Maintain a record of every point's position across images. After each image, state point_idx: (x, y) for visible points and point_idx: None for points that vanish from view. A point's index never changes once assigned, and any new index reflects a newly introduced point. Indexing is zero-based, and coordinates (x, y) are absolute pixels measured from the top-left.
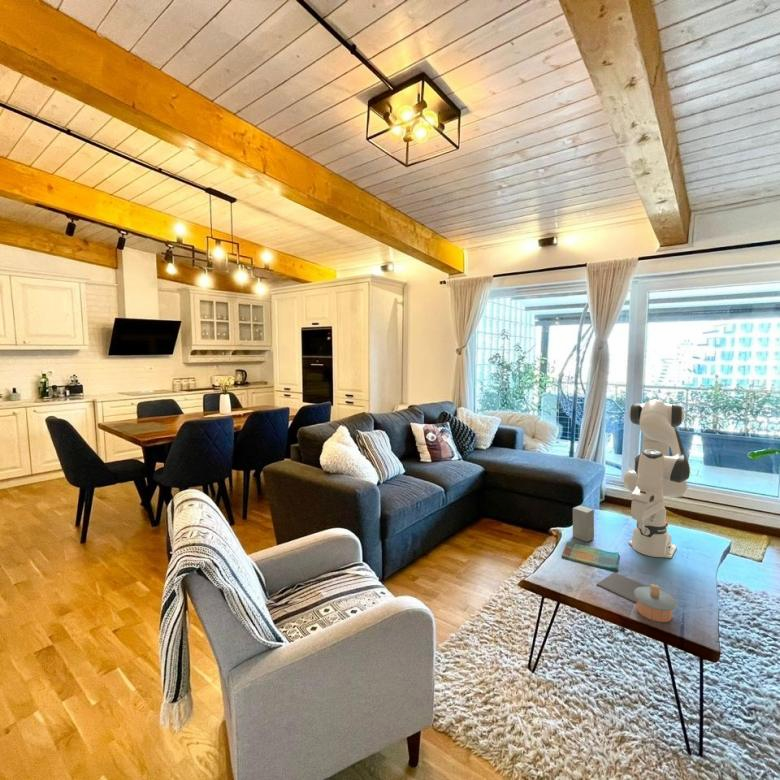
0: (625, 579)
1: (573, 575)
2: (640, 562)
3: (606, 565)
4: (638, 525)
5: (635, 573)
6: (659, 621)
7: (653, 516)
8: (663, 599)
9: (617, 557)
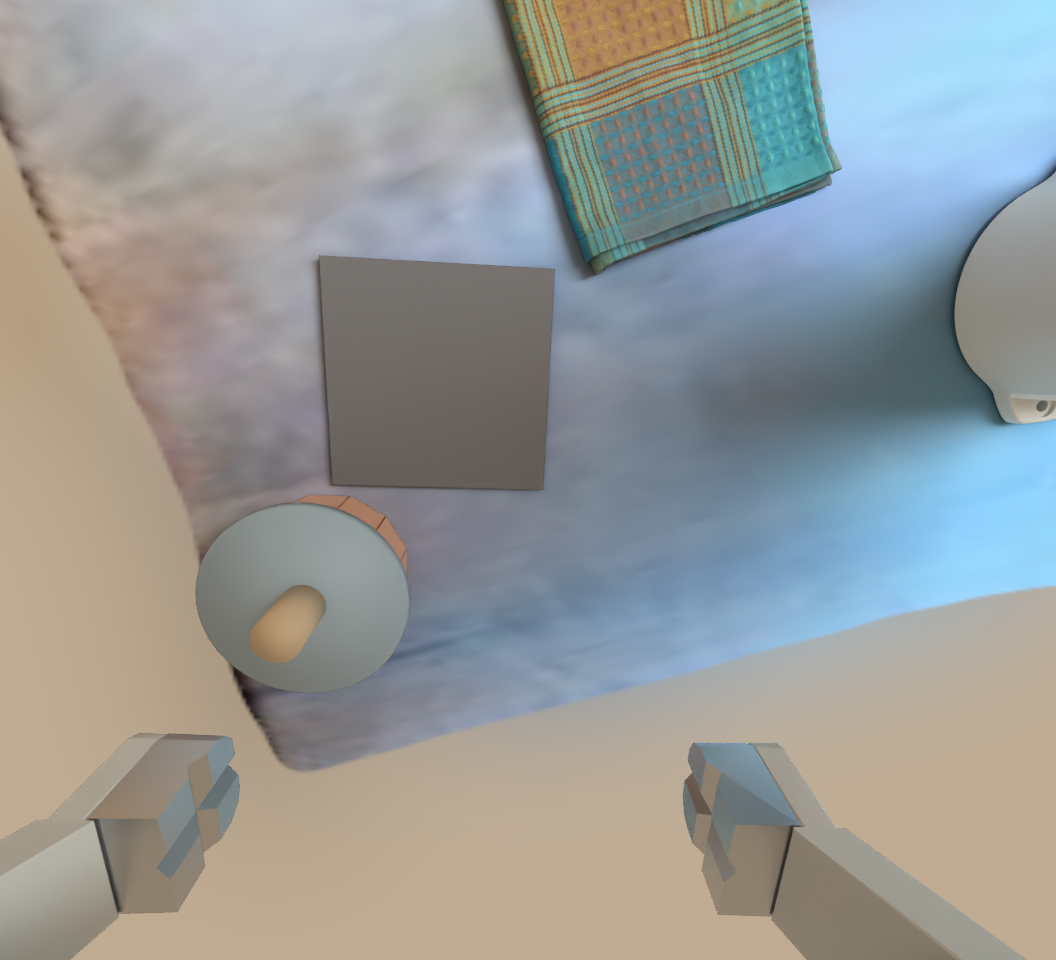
0: (519, 353)
1: (295, 82)
2: (827, 319)
3: (586, 192)
4: (94, 778)
5: (657, 356)
6: None
7: (808, 919)
8: (319, 641)
9: (761, 195)
